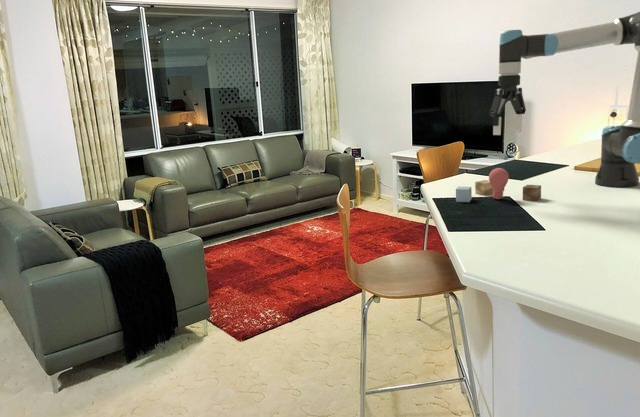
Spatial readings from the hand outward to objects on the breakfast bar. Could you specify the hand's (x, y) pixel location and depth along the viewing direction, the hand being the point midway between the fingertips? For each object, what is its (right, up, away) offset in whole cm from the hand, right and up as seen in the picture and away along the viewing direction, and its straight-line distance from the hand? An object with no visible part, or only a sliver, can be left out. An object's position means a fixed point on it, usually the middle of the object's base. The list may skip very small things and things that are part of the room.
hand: (507, 133), depth 191 cm
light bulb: (-2, -25, +3) cm, 25 cm away
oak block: (-4, -22, +14) cm, 27 cm away
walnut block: (+9, -25, -1) cm, 26 cm away
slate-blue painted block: (-15, -25, +6) cm, 30 cm away
